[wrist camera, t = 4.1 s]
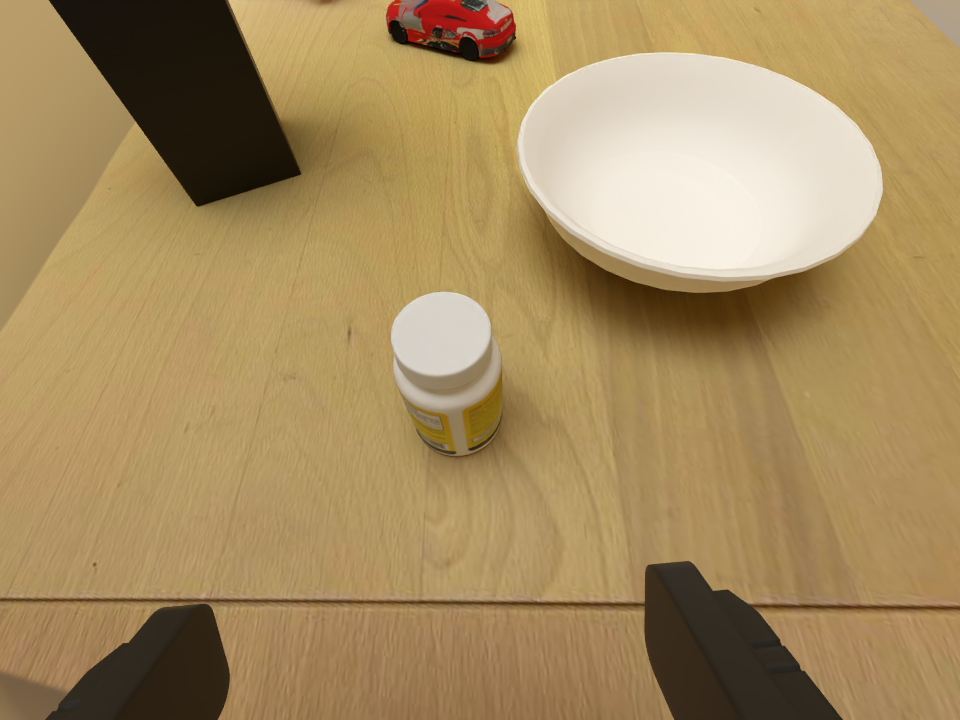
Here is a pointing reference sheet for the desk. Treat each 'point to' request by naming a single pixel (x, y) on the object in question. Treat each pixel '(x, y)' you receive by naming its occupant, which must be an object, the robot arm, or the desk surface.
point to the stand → (188, 89)
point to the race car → (453, 25)
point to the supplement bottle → (448, 372)
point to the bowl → (697, 171)
